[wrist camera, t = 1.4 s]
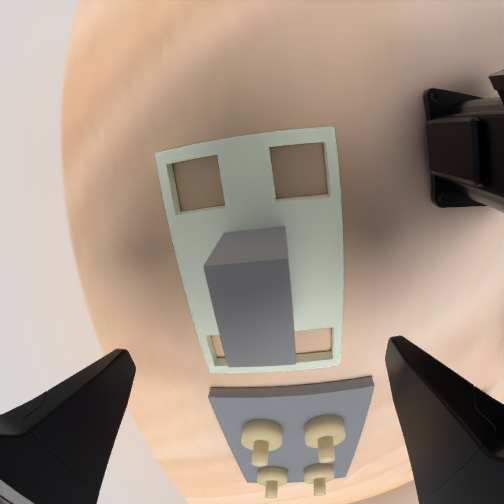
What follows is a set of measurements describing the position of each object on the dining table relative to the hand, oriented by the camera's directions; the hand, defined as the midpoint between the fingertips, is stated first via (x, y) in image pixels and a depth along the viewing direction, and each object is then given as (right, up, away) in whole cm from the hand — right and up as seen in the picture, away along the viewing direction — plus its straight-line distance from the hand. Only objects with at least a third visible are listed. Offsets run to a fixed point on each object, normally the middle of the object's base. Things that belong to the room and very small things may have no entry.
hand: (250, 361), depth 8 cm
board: (+1, +3, +7) cm, 7 cm away
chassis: (+4, -15, +13) cm, 20 cm away
